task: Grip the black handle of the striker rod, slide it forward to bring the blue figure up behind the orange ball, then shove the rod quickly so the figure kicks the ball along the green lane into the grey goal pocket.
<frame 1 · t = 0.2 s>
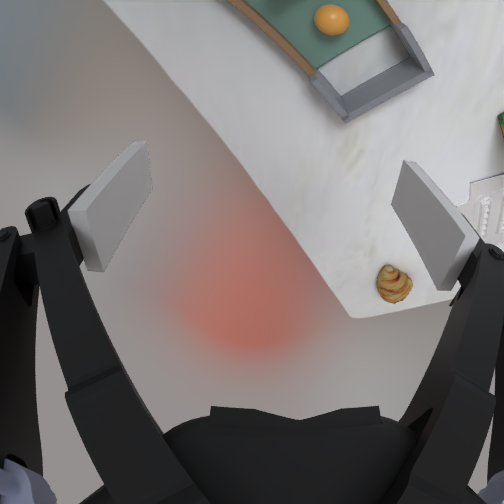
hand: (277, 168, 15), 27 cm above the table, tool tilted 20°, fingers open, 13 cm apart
ball: (331, 19, 26), point 3 cm above the table, touching lane
croissant: (393, 277, 80), on the table
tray: (490, 212, 55), on the table
goal: (364, 59, 32), on the table
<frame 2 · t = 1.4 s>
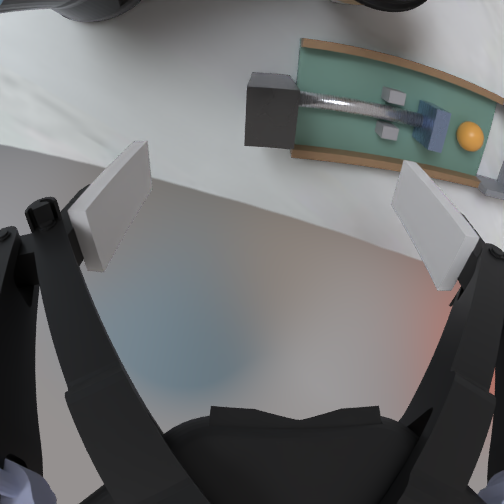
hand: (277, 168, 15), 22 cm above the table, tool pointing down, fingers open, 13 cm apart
ball: (470, 136, 30), point 3 cm above the table, touching lane
striker rod: (361, 115, 27), point 7 cm above the table, slide at 0.0 cm
lane: (404, 113, 32), on the table
goal: (496, 142, 32), on the table
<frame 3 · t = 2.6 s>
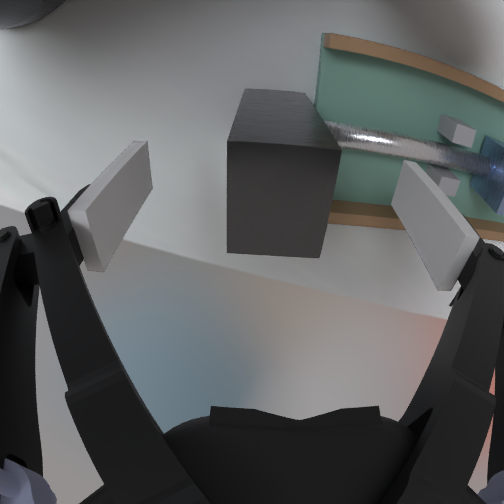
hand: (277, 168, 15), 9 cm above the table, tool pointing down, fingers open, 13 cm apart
striker rod: (423, 171, 16), point 7 cm above the table, slide at 0.0 cm
lane: (462, 151, 21), on the table
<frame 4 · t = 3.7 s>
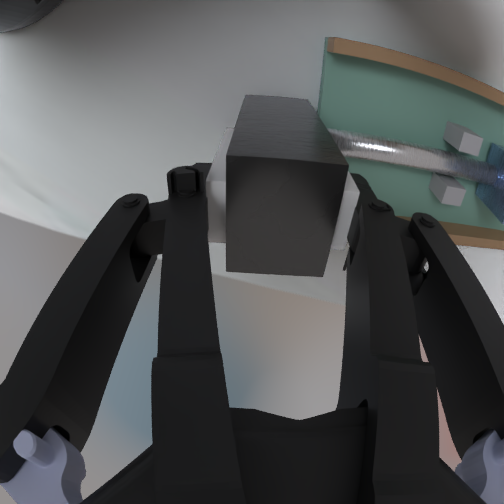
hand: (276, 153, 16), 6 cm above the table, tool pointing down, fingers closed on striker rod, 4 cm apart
striker rod: (429, 182, 15), point 7 cm above the table, slide at 0.0 cm, touching gripper
lane: (467, 159, 21), on the table
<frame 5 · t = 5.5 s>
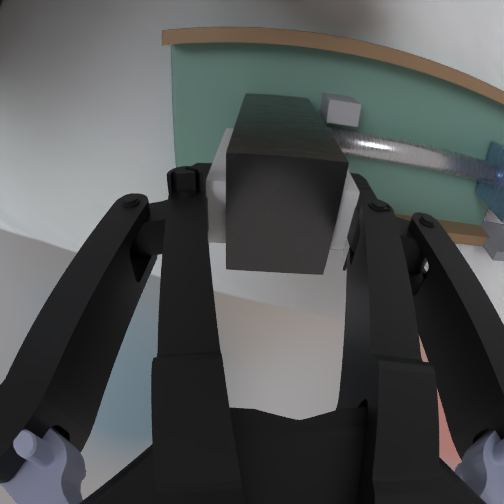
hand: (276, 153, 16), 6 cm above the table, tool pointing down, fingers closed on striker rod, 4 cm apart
striker rod: (429, 180, 15), point 7 cm above the table, slide at 10.0 cm, touching gripper
lane: (366, 135, 21), on the table
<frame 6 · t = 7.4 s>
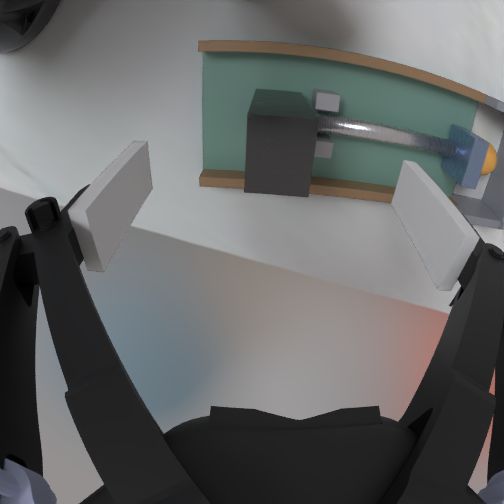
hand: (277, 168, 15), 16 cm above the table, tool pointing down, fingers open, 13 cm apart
ball: (481, 157, 25), point 2 cm above the table, tilted 160°
striker rod: (390, 146, 22), point 7 cm above the table, slide at 9.9 cm
lane: (348, 121, 27), on the table
goal: (479, 152, 27), on the table
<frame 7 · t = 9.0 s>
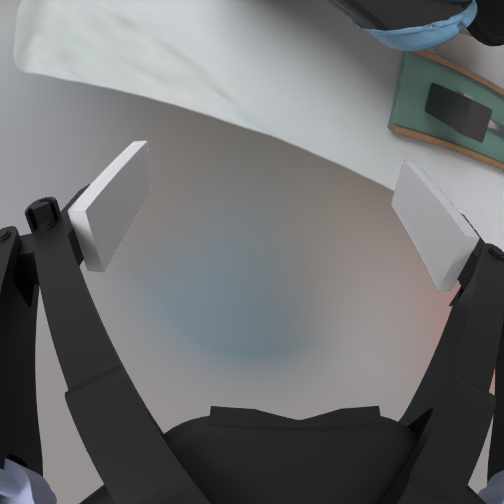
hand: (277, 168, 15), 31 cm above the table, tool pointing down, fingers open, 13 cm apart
coffee cup: (434, 10, 28), on the table
striker rod: (496, 128, 33), point 7 cm above the table, slide at 9.9 cm
lane: (466, 111, 38), on the table
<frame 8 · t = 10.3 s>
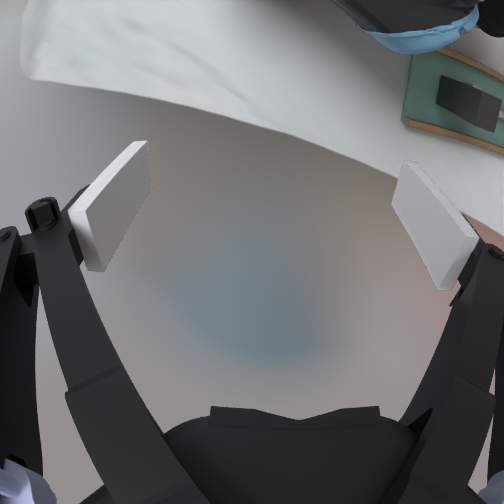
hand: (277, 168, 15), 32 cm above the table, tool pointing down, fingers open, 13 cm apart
coffee cup: (439, 3, 27), on the table
lane: (475, 102, 37), on the table
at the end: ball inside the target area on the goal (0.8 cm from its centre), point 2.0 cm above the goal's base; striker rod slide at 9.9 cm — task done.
